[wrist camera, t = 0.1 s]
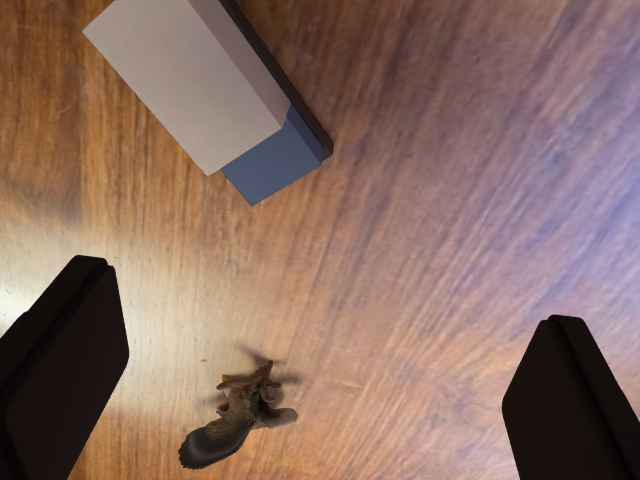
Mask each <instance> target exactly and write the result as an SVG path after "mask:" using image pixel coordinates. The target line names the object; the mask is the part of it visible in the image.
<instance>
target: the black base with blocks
mask: <svg viewBox="0 0 640 480" xmlns="http://www.w3.org/2000/svg"><path fill="white" fill-rule="evenodd" d="M82 32H83V33H84V34H85V36H86V37H87V38H88V39H89V40H90V41H91V43H92V44H93V45H94V46H95V47H96V48H97V50H98V51H99V52H100V53H101V54H102V55H103V56H104V58H105V59H106V60H107V61H108V62H109V63H110V65H111V66H112V67H113V68H114V69H115V70H116V72H117V73H118V74H119V75H120V76H121V77H122V78H123V80H124V81H125V82H126V83H127V84H128V85H129V87H130V88H131V89H132V90H133V91H134V92H135V94H136V95H137V96H138V97H139V98H140V99H141V100H142V102H143V103H144V104H145V105H146V106H147V107H148V109H149V110H150V111H151V112H152V113H153V114H154V116H155V117H156V118H157V119H158V120H159V121H160V122H161V124H162V125H163V126H164V127H165V128H166V129H167V131H168V132H169V133H170V134H171V135H172V136H173V137H174V139H175V140H176V141H177V142H178V143H179V144H180V146H181V147H182V148H183V149H184V150H185V151H186V153H187V154H188V155H189V156H190V157H191V158H192V159H193V161H194V162H195V163H196V164H197V165H198V166H199V168H200V169H201V170H202V171H203V172H204V173H205V175H206V176H210V175H211V174H213V173H214V172H216V171H217V170H219V169H221V171H222V172H223V173H224V174H225V175H226V177H227V178H228V179H229V180H230V181H231V182H232V184H233V185H234V186H235V187H236V188H237V190H238V191H239V192H240V193H241V194H242V196H243V197H244V198H245V199H246V200H247V201H248V203H249V204H250V205H251V206H254V205H255V204H257V203H259V202H260V201H262V200H264V199H265V198H267V197H269V196H270V195H272V194H274V193H275V192H277V191H279V190H280V189H282V188H284V187H285V186H287V185H289V184H291V183H292V182H294V181H296V180H297V179H299V178H301V177H302V176H304V175H306V174H307V173H309V172H311V171H312V170H314V169H316V168H317V167H319V166H321V163H322V161H323V160H325V159H326V158H328V157H330V156H331V155H333V147H334V143H333V142H332V141H331V139H330V138H329V136H328V135H327V133H326V132H325V130H324V129H323V128H322V126H321V125H320V123H319V122H318V120H317V119H316V118H315V116H314V115H313V113H312V112H311V110H310V109H309V107H308V106H307V105H306V103H305V102H304V100H303V99H302V97H301V96H300V94H299V93H298V92H297V90H296V89H295V87H294V86H293V84H292V83H291V82H290V80H289V79H288V77H287V76H286V74H285V73H284V71H283V70H282V69H281V67H280V66H279V64H278V63H277V61H276V60H275V59H274V57H273V56H272V54H271V53H270V51H269V50H268V48H267V47H266V46H265V44H264V43H263V41H262V40H261V38H260V37H259V35H258V34H257V33H256V31H255V30H254V28H253V27H252V25H251V24H250V23H249V21H248V20H247V18H246V17H245V15H244V14H243V12H242V11H241V10H240V8H239V7H238V5H237V4H236V2H235V1H234V0H114V1H113V2H112V3H111V4H110V5H109V6H108V7H107V8H106V9H105V10H103V11H102V12H101V13H100V14H99V15H98V16H97V17H96V18H95V19H94V20H93V21H91V22H90V23H89V24H88V25H87V26H86V27H85V28H84V29H83V30H82Z"/></svg>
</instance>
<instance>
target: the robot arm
mask: <svg viewBox="0 0 640 480" xmlns="http://www.w3.org/2000/svg"><path fill="white" fill-rule="evenodd" d="M128 359H129V346H128V341H127V335H126V329H125V323H124V318H123V312H122V306H121V301H120V295H119V289H118V284H117V278H116V272H115V268H114V267H113V266H110V265H108V263H107V261H106V259H104V258H99V257H91V256H83V255H76V256H74V257H73V258H72V259H71V260H70V262H69V263H68V264H67V265H66V266H65V267H64V269H63V270H62V271H61V272H60V273H59V275H58V276H57V277H56V278H55V279H54V280H53V282H52V283H51V284H50V285H49V286H48V288H47V289H46V290H45V291H44V292H43V293H42V295H41V296H40V297H39V298H38V299H37V301H36V302H35V303H34V304H33V305H32V306H31V308H30V309H29V310H28V311H26V312H24V313H23V314H22V315H21V316H20V317H19V318H18V319H17V320H16V321H15V322H14V323H13V324H12V326H11V327H10V328H9V329H8V330H7V331H6V333H5V334H4V335H3V336H2V337H1V338H0V480H67V478H68V476H69V474H70V472H71V470H72V469H73V467H74V465H75V463H76V461H77V459H78V457H79V455H80V453H81V451H82V450H83V448H84V446H85V444H86V442H87V440H88V438H89V436H90V434H91V432H92V431H93V429H94V427H95V425H96V423H97V421H98V419H99V417H100V415H101V413H102V412H103V410H104V408H105V406H106V404H107V402H108V400H109V398H110V396H111V395H112V393H113V391H114V389H115V387H116V385H117V383H118V381H119V379H120V377H121V376H122V374H123V372H124V370H125V368H126V366H127V363H128ZM502 414H503V418H504V422H505V426H506V429H507V433H508V437H509V440H510V444H511V448H512V451H513V455H514V459H515V462H516V466H517V470H518V473H519V477H520V480H640V422H639V420H638V418H637V416H636V415H635V413H634V411H633V409H632V407H631V405H630V403H629V402H628V400H627V398H626V396H625V394H624V393H623V391H622V390H621V388H620V387H619V385H618V383H617V381H616V379H615V377H614V375H613V374H612V372H611V370H610V368H609V366H608V364H607V362H606V361H605V359H604V357H603V355H602V353H601V351H600V349H599V347H598V346H597V344H596V342H595V340H594V338H593V336H592V334H591V333H590V331H589V329H588V327H587V325H586V323H585V322H584V320H583V319H581V318H579V317H571V316H563V315H555V314H554V315H551V316H550V317H549V318H548V319H547V320H542V321H540V323H539V324H538V326H537V329H536V331H535V333H534V335H533V337H532V339H531V341H530V343H529V345H528V347H527V349H526V352H525V354H524V356H523V358H522V360H521V362H520V364H519V366H518V368H517V370H516V372H515V375H514V377H513V379H512V381H511V383H510V385H509V387H508V389H507V391H506V393H505V395H504V398H503V401H502Z"/></svg>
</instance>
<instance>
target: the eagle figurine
mask: <svg viewBox="0 0 640 480" xmlns="http://www.w3.org/2000/svg"><path fill="white" fill-rule="evenodd" d="M272 366H273V362H272V361H270V362H269V363H268V364H267V365H265V366H264V367H260V368H259V370H256V372H255V373H254V374H253V375H252V376H250V377H249V378H247V379H246V378H245V379H241V380H227V378H226V377H225V376H224V375H223V376H222V381H223V382H222V383H221V384H219V385H218V386H217V387H216V388H217V390H221V389H223V391H224V393H225V395H226V396H227V397H228V399H229V409H228V410H227V411H216V413H218V414H219V415H220V416H222V417H221V418H219V419H217V420H214V421H211V422H210V423H208V424H207V425H206V426H205V427H201V428H198V429H196V430H194V431H192V432H191V433H189V434H188V435H187V437H186V440H185V441H184V442H183V443H182V445H181V448H180V449H179V450H178V453H179V455H180V457H179V460H180V461H181V465H183V468H188V469H192V470H194V469H197V470H198V469H203V468H205V467H208V466H210V465H211V464H214V463H216V462H218V461H220V460H223V459H225V458H227V457H228V456H230V455H232V454H234V453H236V452H237V451H238V450H239V449H240V448H241V446H242V445H243V443H244V441H245V439H246V437H247V435H248V433H249V432H250V430H254V429H259V428H262V427H266V426H267V427H269V428H274V427H280V426H283V425H287V424H291V423H293V422H296V421H297V418H298V414H297V413H296V411H295V410H294V409H292V408H281V409H275V410H273V409H271V408H270V407H269V406H268V403H267V402H275V400H276V399H274V398H271V397H270V396H269V395H268V393H267V386H271V387H273V388H280V387H281V384H280V383H278V382H272V381H271V380H269V373H270V370H271V368H272ZM239 387H240V388H239Z"/></svg>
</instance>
